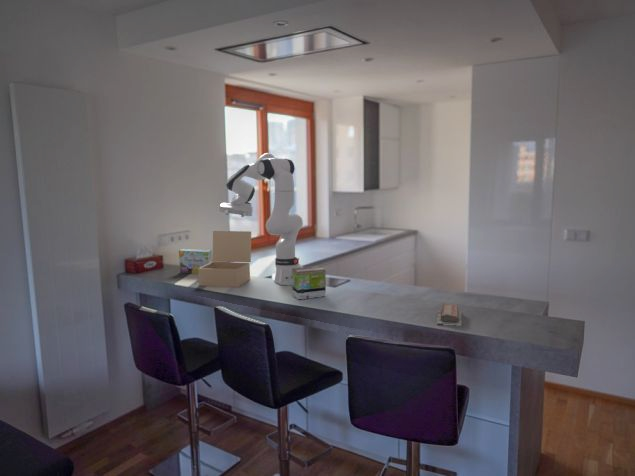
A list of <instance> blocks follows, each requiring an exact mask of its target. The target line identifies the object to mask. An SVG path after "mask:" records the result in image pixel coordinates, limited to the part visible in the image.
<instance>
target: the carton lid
mask: <svg viewBox="0 0 635 476" xmlns="http://www.w3.org/2000/svg"><path fill="white" fill-rule="evenodd" d="M251 258H252V231H249V230H247V231H242V230H241V231H240V230H239V231H237V230H213V231H212V262H232V263H251V262H252V261H251Z"/></svg>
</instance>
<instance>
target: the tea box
mask: <svg viewBox="0 0 635 476" xmlns="http://www.w3.org/2000/svg"><path fill="white" fill-rule="evenodd" d="M326 272H327V271H326V268H323V267H321V266H319V265H313V266H305V267H304V266H303V267H301V268H292V285H291V287H292V294H291V295H292V296H293V297H294V298H295V297H296V298H295V299H297V300H298V299H301V300H306V299H307V298H308V299H315V298H314V297H318V298H322V297H321V296H325V297H326V295H327V294H326V293H327V291H326V290H327V289H326V287H327V286H326V285H327V283H326V274H327V273H326ZM308 299H307V300H308Z"/></svg>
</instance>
